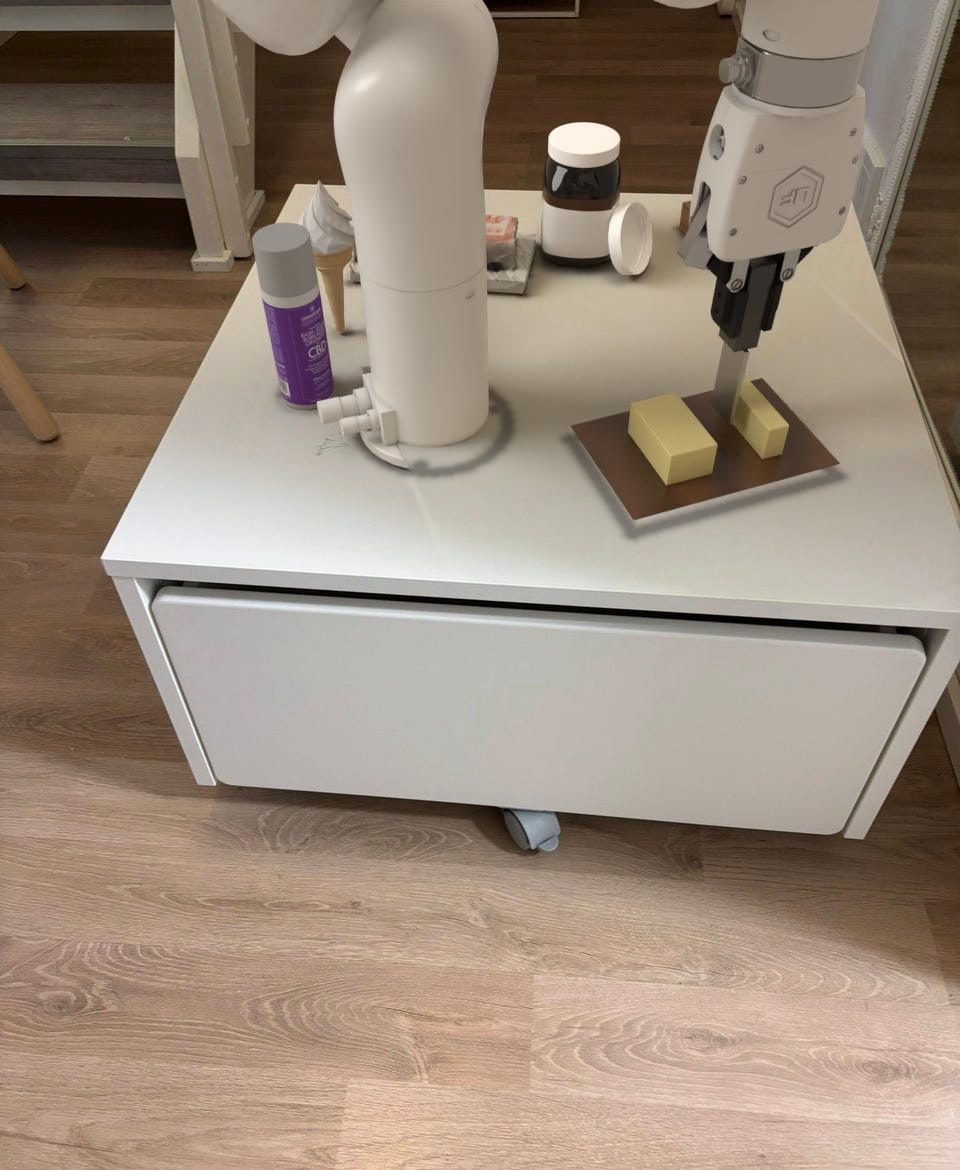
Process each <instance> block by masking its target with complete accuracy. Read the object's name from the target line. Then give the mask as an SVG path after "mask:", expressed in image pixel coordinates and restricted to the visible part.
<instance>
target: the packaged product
mask: <svg viewBox="0 0 960 1170" xmlns="http://www.w3.org/2000/svg"><path fill="white" fill-rule="evenodd" d="M518 225H519V218H518V217H516V216H511V215H500V214H488V213H486V254H487V292H494V293H508V294H521V295H523V294H524V291H525V289H526V287H527V283H528V280H529V275H530V270H531V267H532V264H533V260H534V257H535V254H536V245H537V235H538V234H537V233H528V234H524V233H519V232H518V228H519V226H518ZM352 255H353V257H352V260H351V261H350V262H349V265H348V268H347V274H346V275H347V277H348V280H349V282H357V283H361V280H360V272H359V265H358V259H357V250H356V244H355V245H354V247H353V252H352Z"/></svg>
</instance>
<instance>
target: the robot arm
mask: <svg viewBox="0 0 960 1170" xmlns="http://www.w3.org/2000/svg"><path fill="white" fill-rule="evenodd" d="M653 1H654V2H656V3H659V4H662V5H665V6H667V7H671V8H678V9H684V10H685V9H700V8H703V7H707V6H711V5H714V4H716V3H718V2H720V1H721V0H653ZM210 2H212V4H214V5H215V6H216V7H217V8H218V9H219V11H221V12H222V13H223V14H224V15H225V16H226V17H227V18H228V19H229V20H230V21H231V22H232V23H233V24H234V25H235V26H236V27H237V28H238V29H240V31H242V32H243V33H244V34H245V35H246V36H247V37H248V38H250V39H251V40H252V41H253V42H255V43H256V45H258V46H261V47H263V48H265V49H266V50H268V51H270V52H272V53H275V54H279V55H285V56H292V57H293V56H301V55H306V54H308V53H312V52H313V51H316V50H318V49H319V48H321V47H323V45H325V44H326V43H328V41H330V39H332V37H334V36H335V37H336V38H337V39H338V40H339V41H340V42H341V43H342V44H343V45H344V46H345V47H346V48H347V49H348V50H349V51H350V54H349V55H348V58H347V59H346V62H345V64H344V67H343V68H342V71H341V75H340V77H339V80H338V84H337V89H336V92H335V97H334V98H335V99H334V106H333V133H334V141H335V146H336V151H337V156H338V160H339V163H340V167H341V171H342V176H343V180H344V183H345V188H346V192H347V196H348V202H349V206H350V207H349V208H350V212H351V217H352V220H351V221H352V225H353V226H352V227H354V234H355V242H356V250H357V259H358V265H359V272H360V280H361V282H360V289H361V297H362V298H361V299H362V306H363V313H364V315H363V316H364V321H365V331H366V340H367V348H368V349H367V350H368V356H369V357H368V358H369V365H370V372H367V373H363V374H362V383H363V384H362V385H363V386H362V387H358V388H354V389H352V394H347V395H344V396H340V397H339V396H333V398H330V399H326V400H321V401H317V408H316V409H317V412H318V417H319V419H320V422H321V424H322V425H326V424H331V423H335V422H338V423H339V426H340V431H341V434H342V436H343V437H346V436H350V435H354V434H360V438H361V439H362V441H363V443H364V445H365V446H366V447H367V448H368V449H369V451H370V452H371V453H372V454H373V455H375V456H376V457H378V458H379V459H381V460H383V461H385V462H387V463H389V464H391V465H394V466H397V467H400V468H403V469H408V470H410V466H409V465H408V462H407V460H406V459H405V456H404V454H403V452H402V449H401V448H400V445H399V444H398V442H400V443H402V444H406V445H408V446H409V445H410V446H412V447H413V446H414V447H420V448H441V447H445V446H451V445H455V444H458V443H461V442H463V441H465V440H467V439H469V438H471V437H473V436H474V435H475V434H477V432H479V431H480V430H481V429H482V428H483V427H484V425H485V424H486V422H487V419H488V418H489V414H490V407H489V406H490V405H489V403H490V401H489V339H488V338H489V335H488V334H489V332H488V331H489V330H488V329H489V328H488V324H489V323H488V291H487V254H486V214H487V213H486V198H485V196H486V195H485V185H484V170H483V168H484V167H483V144H484V128H485V121H486V116H487V111H488V108H489V104H490V99H491V94H492V89H493V86H494V82H495V77H496V75H497V70H498V64H499V63H498V62H499V52H500V51H499V40H498V39H499V38H498V33H497V29H496V25H495V22H494V20H493V17H492V15H491V13H490V10H489V8H488V7H487V5H486V4H485V2H484V0H210ZM879 4H880V0H746V1H745V7H744V13H743V18H742V24H741V30H740V35H739V37H738V38H737V43H736V49H735V54H733V55H732V56H730V57H726V58H722V59H721V60H720V62H719V65H718V77H719V80H720V81H721V83H723V84H728V83H731V84H729V85H727V86H724V87H723V89H722V91H721V94H720V96H719V99H718V101H717V103H716V106H715V109H714V112H713V115H712V117H711V120H710V123H709V127H708V128H707V129H708V130H707V133H706V136H705V139H704V141H703V146H702V150H701V153H700V157H699V160H698V161H699V162H698V166H697V170H696V175H695V178H694V183H693V184H694V185H693V189H692V193H691V198H690V201H691V206H690V215H689V229H688V231H687V233H686V235H684V237H683V239H682V240H681V242H680V244H679V246H678V248H677V249H676V256H677V257H678V258H679V259H680V260H681V261H682V263H683V264H685V265H686V266H687V267H690V268H695V269H698V270H703V271H704V270H706V271H710V272H711V273H712V274H713V275H714V276H715V277H716V280H715V286H714V290H713V294H712V295H713V296H712V300H711V306H710V317H711V319H712V321H713V323H714V324H716V325H717V327H718V328H719V330H720V329H721V330H722V331H723V332H724V333H725V334H726V335H727V336H728V338H729V339H734V338H738V336H739V335H740V333H741V329H742V324H743V320H744V315H745V311H746V306H747V302H748V297H749V291H748V290H746V288H745V287H744V284H745V279H746V275H747V270H748V266H749V261H750V259H753V258H758V257H763V256H768V255H769V256H770V257H771V258H772V259H773V260H774V261H775V262H776V263H777V266H776V270H775V274H774V278H773V283H772V286H771V289H770V293H769V298H768V302H767V306H766V310H765V315H764V319H763V323H762V327H761V332H763V333H764V332H765V333H766V332H769V331H772V329H773V326H774V322H775V319H776V314H777V311H778V308H779V305H780V301H781V296H782V292H783V289H784V284H785V283H786V282H789V281H790V280H792V279H793V278H794V276H795V274H796V271H797V267H798V265H799V264H800V263H802V261H803V260H804V259H805V258H806V257H807V256H808V255H809V254H810V253H811V252H812V251H813V250H814V247H815V248H816V247H818V246H820V245H823V244H826V243H829V242H830V241H832V240H834V239H835V238H836V237H838V236H839V235H840V234H841V232H842V231H843V229H844V226H845V224H846V221H847V218H848V215H849V211H850V207H851V204H852V199H853V196H854V190H855V186H856V182H857V176H858V171H859V166H860V160H861V156H862V155H861V154H862V149H863V142H864V134H865V133H864V132H865V121H866V90H865V89H864V87H863V86H861V85H859V80H860V76H861V74H862V73H861V72H862V69H863V65H864V61H865V58H866V53H867V49H868V46H869V42H870V38H871V35H872V30H873V28H874V24H875V20H876V17H877V12H878V10H879V9H878V8H879ZM708 245H709V246H708Z"/></svg>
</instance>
